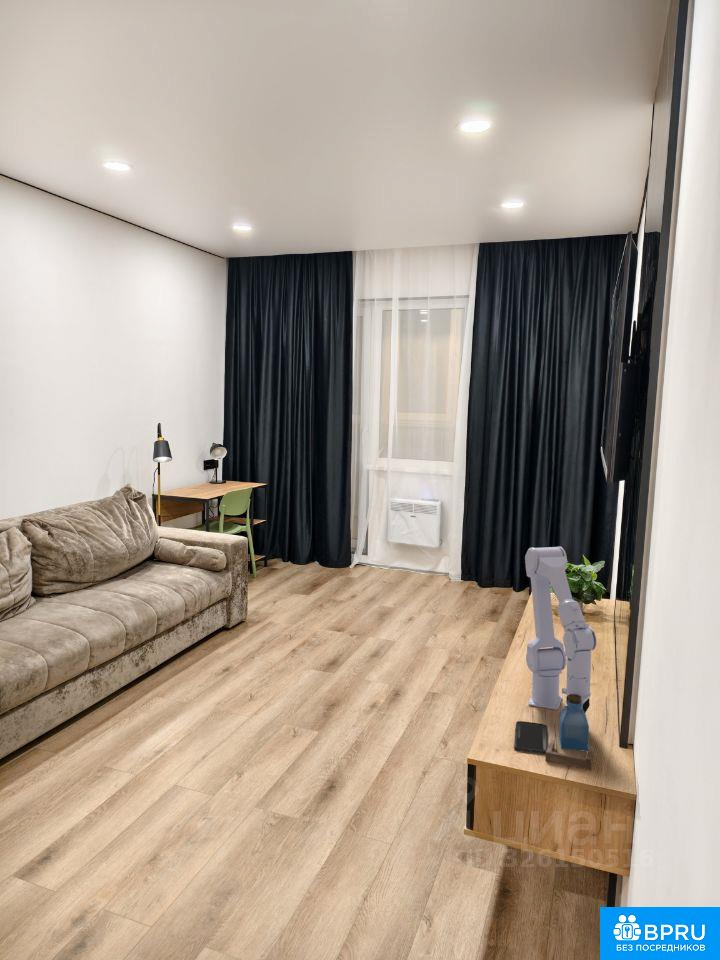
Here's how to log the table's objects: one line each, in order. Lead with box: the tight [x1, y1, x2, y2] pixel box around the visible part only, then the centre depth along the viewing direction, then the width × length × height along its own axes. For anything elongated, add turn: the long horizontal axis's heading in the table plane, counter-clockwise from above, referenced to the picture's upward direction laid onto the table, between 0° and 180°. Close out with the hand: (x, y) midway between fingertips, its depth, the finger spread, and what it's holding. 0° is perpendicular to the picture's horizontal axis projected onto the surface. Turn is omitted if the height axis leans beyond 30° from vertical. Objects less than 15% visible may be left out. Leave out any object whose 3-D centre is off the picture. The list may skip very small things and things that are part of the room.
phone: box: [513, 720, 548, 755], centre depth 162 cm, size 8×1×15 cm
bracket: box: [544, 738, 594, 771], centre depth 153 cm, size 7×10×2 cm
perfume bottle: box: [558, 694, 590, 752], centre depth 159 cm, size 6×6×12 cm
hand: (577, 726), depth 167 cm, fingers closed
